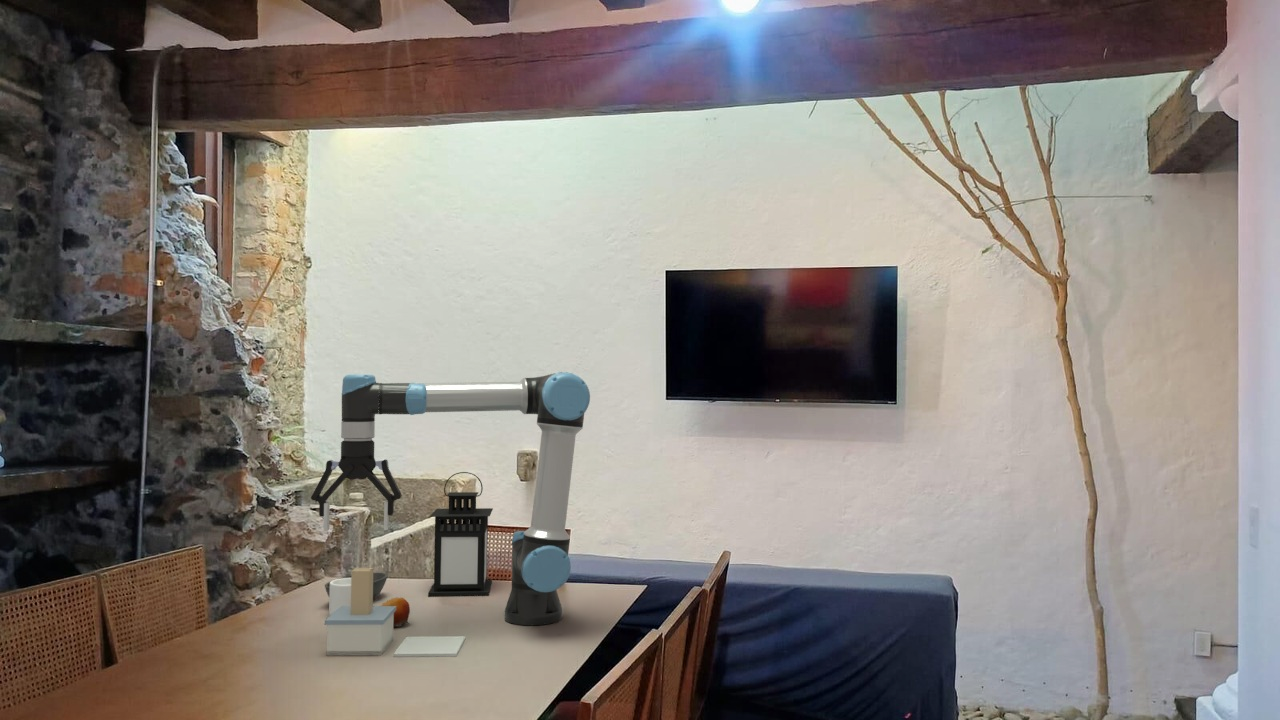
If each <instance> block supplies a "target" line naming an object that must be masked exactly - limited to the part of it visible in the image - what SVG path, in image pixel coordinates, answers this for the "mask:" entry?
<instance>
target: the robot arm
mask: <svg viewBox="0 0 1280 720" xmlns="http://www.w3.org/2000/svg"><path fill="white" fill-rule="evenodd" d="M590 393H591V392H590V389H589V387H588V385H587V384H586V382H585V381H584V380H583V379H582V378H581V377H580V376H578V375H576V374H574V373H572V372H567V371H565V372H562V371H561V372H560V371H559V372H557V373H551V374H547V375H541V376H537V377H523V378H522V379H521V380H520V381H489V382H488V381H487V382H485V381H483V382H480V381H479V382H474V381H473V382H428V383H427V382H425V383H416V382H394V383H393V382H390V383H389V382H386V383H382V382H377V380H376V376H375V375H373V374H347V375H344V376H343V379H342V386H341V423H340V424H341V425H340V426H341V430H340V431H341V433H340V434H341V435H340V437H341V439H343V440H342V441H341V442H340V460H339V461H337V460H332V459H329V460H328V461H326V463H325V464H326V465H325V471H324V472H323V474H322V476H321V477H320V480H319V481H318V483H317V485H316V487H315V488H314V491H313V493H312V495H311V497H310V500H312V501H316V502H318V504H319V507H318V508H319V510H318V514H319V517H323V532H328V531H329V530H330V505H331V504H330V503H331V502H330V501H327V500H328V499H329V498H330V497H331V495H333V494H334V492H335V491H336V490H337V489H338V488H339V486H340V485H341V484H343V482H344V481H345V480H346V479H348V480H356V479H357V480H365V479H367V480H368V481H369V482H370V483H372V485H373V486H374V487H375V488H376V489H377V491H378V492H380V494H381V495H382V496H383V497H384V498H385V501H384V502H383V503H384V504H383V531H388V530H389V527H390V526H389V523H390V522H389V520H390V516H393V514H394V511H395V510H394V508H395V507H394V503H395V502H396V501H397V500H400V499H401V498H402V492H401V491H400V488H399V486H398V485H397V482H396V480H395V479H394V477H393V474H392V472H391V470H390V468H389V460H388V459H384V460H377V461H376V459H375V440H373V439H374V438H375V436H376V435H375V432H376V430H375V423H376V422H375V421H376V420H375V419H376V418H375V417H376V415H410V416H415V415H423V414H425V413H457V412H458V413H460V412H461V413H462V412H503V411H505V412H508V411H511V412H513V411H520V412H521V413H522V414H523V415H537V417H536V418H537V419H536V425H537V426H538V427H539V429H540V430H541V436H540V443H539V444H540V445H539V451H538V463H537V471H536V479H535V488H534V496H533V505H532V513H531V514H532V515H531V520H530V521H531V522H530V526H529V527H528V529H526V530H520V531H518V530H517V531H515V532H514V533H513V535H512V541H511V546H512V547H511V548H512V552H511V553H512V555H511V556H512V557H511V558H512V559H511V590H510V593H509V596H508V600H507V602H506V605H505V609H504V621H506V622H507V623H511V624H513V625H519V626H522V625H523V626H541V625H543V626H544V625H548V624H550V625H551V624H554V623H556V622H559V621H561V620H562V619H563V607H562V604H561V600H560V597H559V594H558V591H557V590H558V589H560V588H561V587H563V586H564V585H565V584H566V582H567V581H568V579H569V577H570V574H571V572H572V571H571V569H572V568H571V567H572V564H571V558H570V557H569V552H570V544H571V543H570V541H571V536H570V534H568V532H567V531H566V524H567V514H568V513H567V512H568V506H569V505H568V504H569V497H570V488H571V479H572V470H573V463H574V454H575V443H576V437H577V434H579V432H580V431H582V430H583V428H584V419H585V413H586V412H587V410H588V408H589V405H590V401H591V394H590ZM337 467H338V468H339V469H340V470H341V472H342V473H340V475H339V476H338V478H337V479H336V480H335V481H334V482H333V483H332V484H331V486H330V487H328V489H327V490H326V491H325V492H324V493H323V494H322V495H321V493H322V491H323V490H324V488H325V485H326V484H327V482H328V480H329V478H330V476H331V475H332V473H333V471H334V470H336V469H337ZM376 467H378V469H379V470H382V474H383V475H384V477H385V479H386V481H387V484H388V486H389V487H390V489H391V492H392V493H391V492H390V491H389V490H388V489H387V488H386V486H385V485H384V484H383V482H381V480H380V479H379V478H378V477H377V475H376V474H375V473H374V472H373V471H374V469H375V468H376Z"/></svg>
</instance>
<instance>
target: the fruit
mask: <svg viewBox="0 0 1280 720" xmlns="http://www.w3.org/2000/svg"><path fill="white" fill-rule="evenodd" d="M380 606H396V611H395V612H394V620H393V628H395V627H399V628H401V627H402V624H409V625H410V623H409V621H408V620H409V616H410V614H411V613H410V611H411V609H410V608H411V607H410V603H409V602H408V601H407V599H405V598H404V597H398V596H397V597H392V598H391V599H388V600H386V601H385V602H383V603H382V604H381V605H380Z"/></svg>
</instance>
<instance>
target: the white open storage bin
mask: <svg viewBox="0 0 1280 720" xmlns="http://www.w3.org/2000/svg"><path fill="white" fill-rule="evenodd" d="M393 620H394V613H393V614H392V616H391V617H390V618H389V619H388V620H387V621H386V622H385V623H384V624H383V625H327V628H326V656H328V657H335V656H339V657H340V656H342V657H344V656H346V657H347V656H350V657H351V656H355V657H358V656H382V655H383V654H384V653H385V651H387V648H389V646H390V645H391V643H392V642H394V627H393Z"/></svg>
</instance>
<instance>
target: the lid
mask: <svg viewBox="0 0 1280 720" xmlns="http://www.w3.org/2000/svg"><path fill="white" fill-rule="evenodd" d="M373 573H374V567H355V568H354V569H352V570H351V574H350V576H351V606H341V607H340V608H339V609H337V610H336V611H335V612H334V613H333V614H331V615H330V614H329V616H328V617H327V618H326V619H325V620H324V625H325V626H326V625H383V624H384V623H385V622H386V621H387V620H388V619H389V618H390V617H391V616H392V614H393V613H394V612H395V611H396V606H381V605H374V604H373V603H374V601H373Z"/></svg>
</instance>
